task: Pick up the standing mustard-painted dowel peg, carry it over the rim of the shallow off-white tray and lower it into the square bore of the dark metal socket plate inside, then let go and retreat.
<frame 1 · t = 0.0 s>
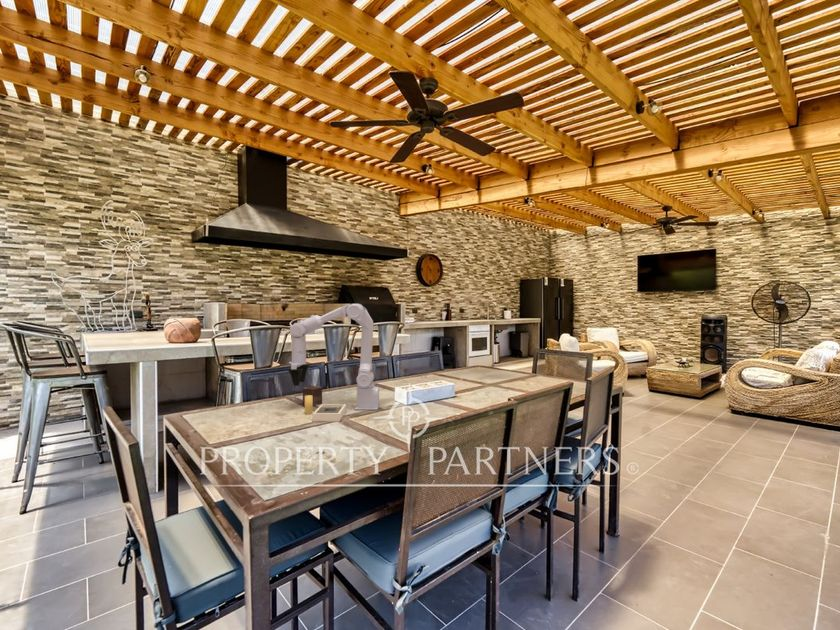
hand: (299, 383, 170), 10 cm above the table, fingers open, 7 cm apart
peg: (308, 413, 162), on the table
tray: (330, 416, 158), on the table
socket plate: (330, 412, 158), in the tray
box: (312, 404, 177), on the table
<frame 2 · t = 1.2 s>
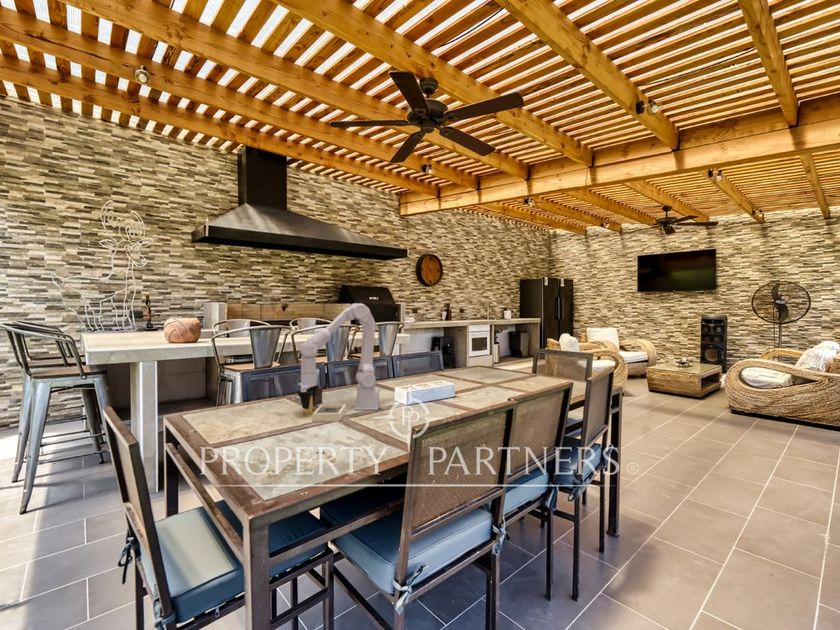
hand: (308, 406, 162), 3 cm above the table, fingers open, 7 cm apart
nothing on the table moved.
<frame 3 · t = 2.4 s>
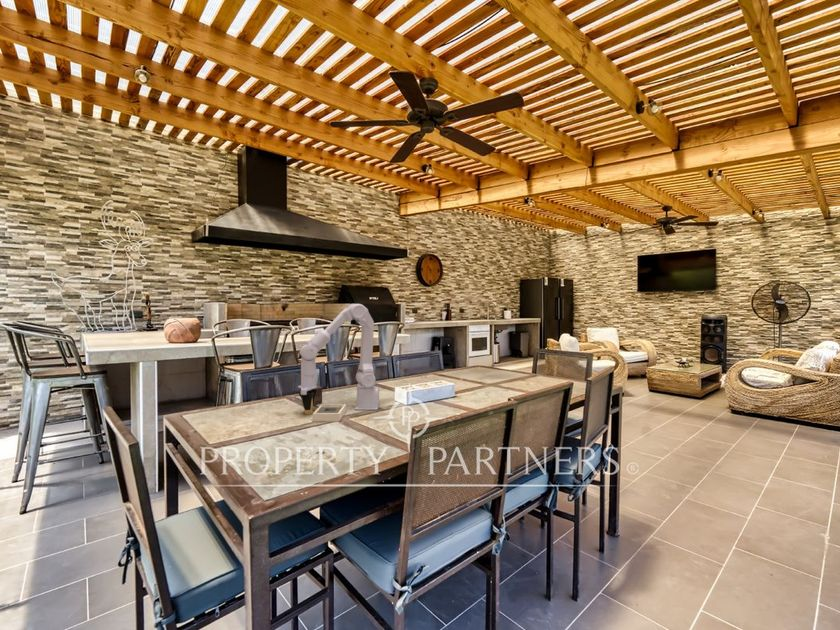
hand: (308, 408, 162), 2 cm above the table, fingers closed on peg, 3 cm apart
peg: (308, 413, 162), on the table, touching gripper
everything else where it was.
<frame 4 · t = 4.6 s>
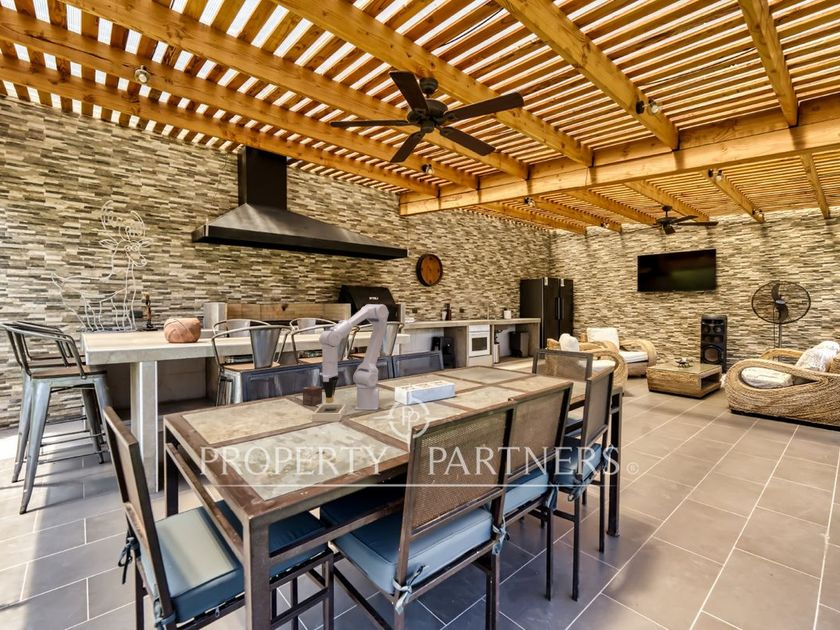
hand: (330, 396, 157), 8 cm above the table, fingers closed on peg, 3 cm apart
peg: (329, 402, 158), point 6 cm above the table, touching gripper
everything else where it was.
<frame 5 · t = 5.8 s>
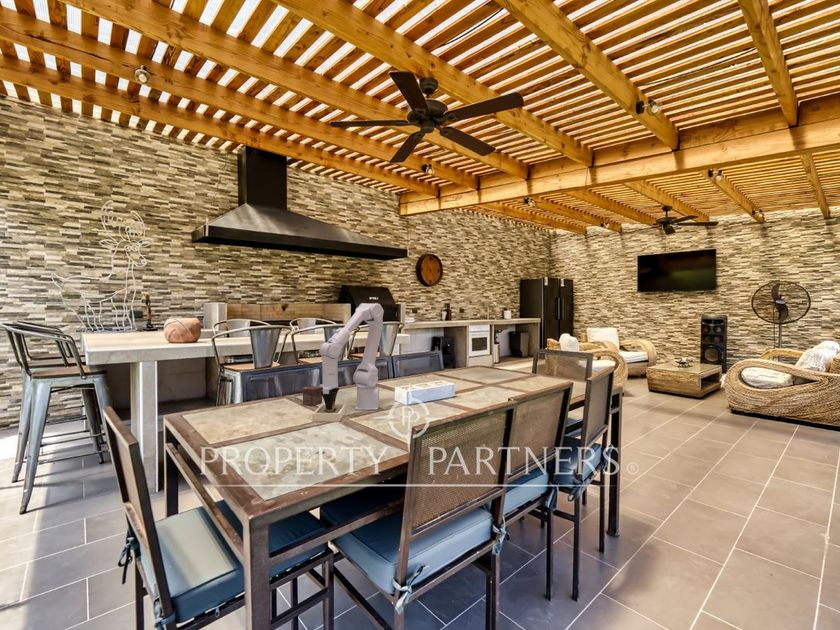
hand: (330, 408, 158), 3 cm above the table, fingers closed on peg, 3 cm apart
peg: (329, 413, 158), point 1 cm above the table, touching gripper
everything else where it was.
when the fingers open (3 cm above the table, at t = 6.6 s): peg stays where it is, resting on tray.
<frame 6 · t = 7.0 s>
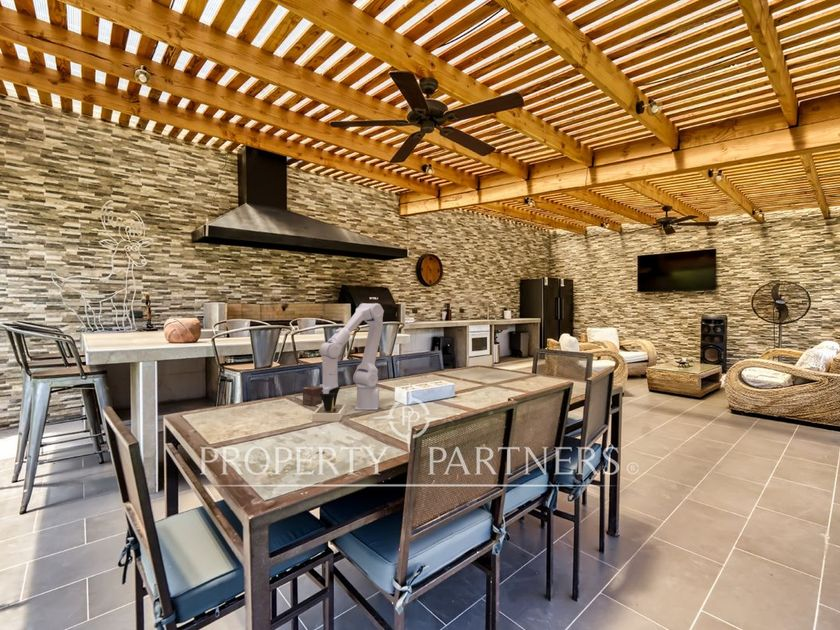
hand: (330, 408, 158), 3 cm above the table, fingers open, 7 cm apart
peg: (329, 415, 158), point 1 cm above the table, touching tray
everything else where it was.
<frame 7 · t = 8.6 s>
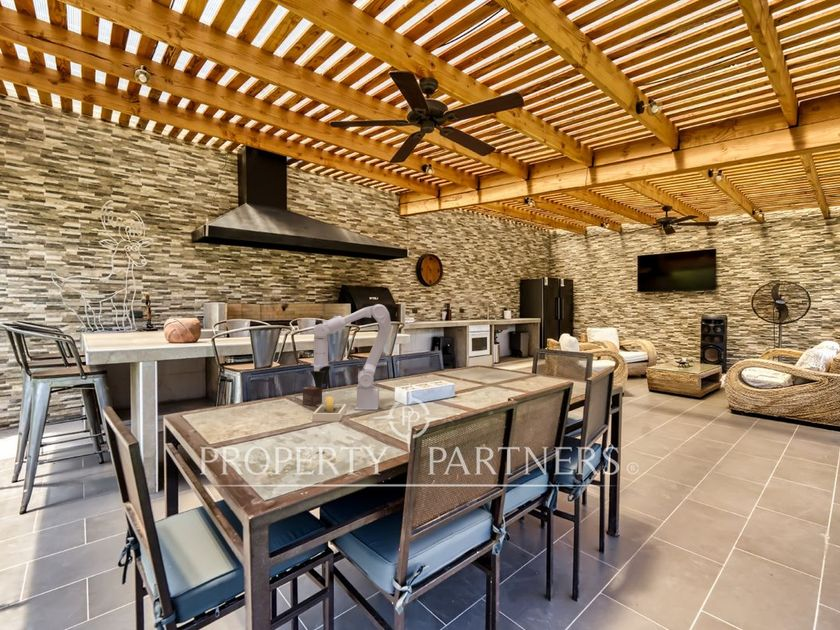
hand: (321, 385, 167), 10 cm above the table, fingers open, 7 cm apart
nothing on the table moved.
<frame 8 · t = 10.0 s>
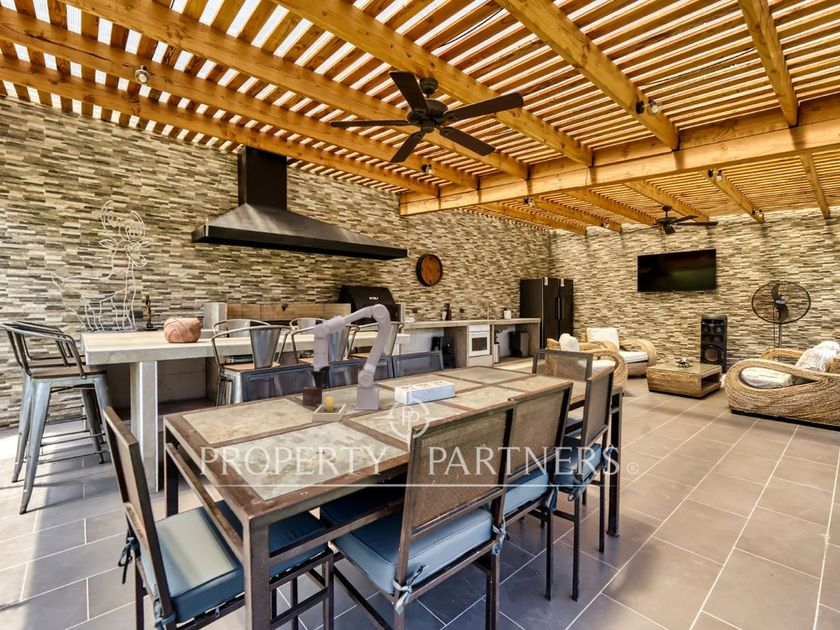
hand: (321, 385, 167), 10 cm above the table, fingers open, 7 cm apart
nothing on the table moved.
at the end: peg 0.2 cm off-centre on the socket plate, point 0.5 cm above the socket plate's base; peg tilted 0°; the gripper is holding nothing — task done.
